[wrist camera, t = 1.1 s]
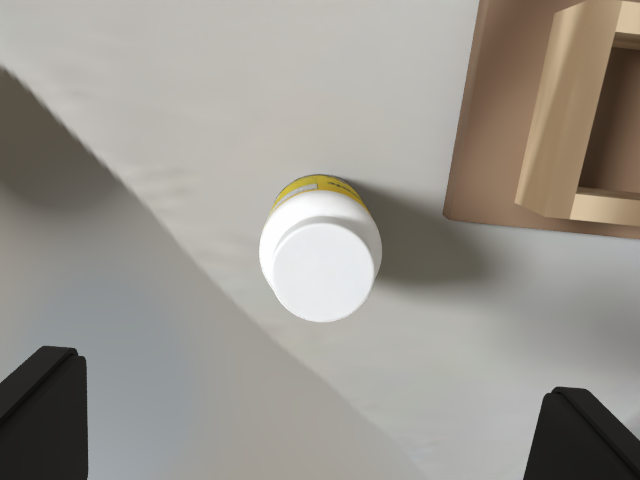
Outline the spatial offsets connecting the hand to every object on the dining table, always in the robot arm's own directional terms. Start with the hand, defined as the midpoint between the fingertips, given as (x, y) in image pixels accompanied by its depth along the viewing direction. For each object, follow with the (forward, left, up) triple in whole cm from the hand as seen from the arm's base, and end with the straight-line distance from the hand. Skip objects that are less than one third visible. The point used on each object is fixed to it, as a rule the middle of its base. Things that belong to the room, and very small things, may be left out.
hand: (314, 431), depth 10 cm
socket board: (-15, -7, -19) cm, 25 cm away
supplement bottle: (0, 0, -19) cm, 19 cm away
